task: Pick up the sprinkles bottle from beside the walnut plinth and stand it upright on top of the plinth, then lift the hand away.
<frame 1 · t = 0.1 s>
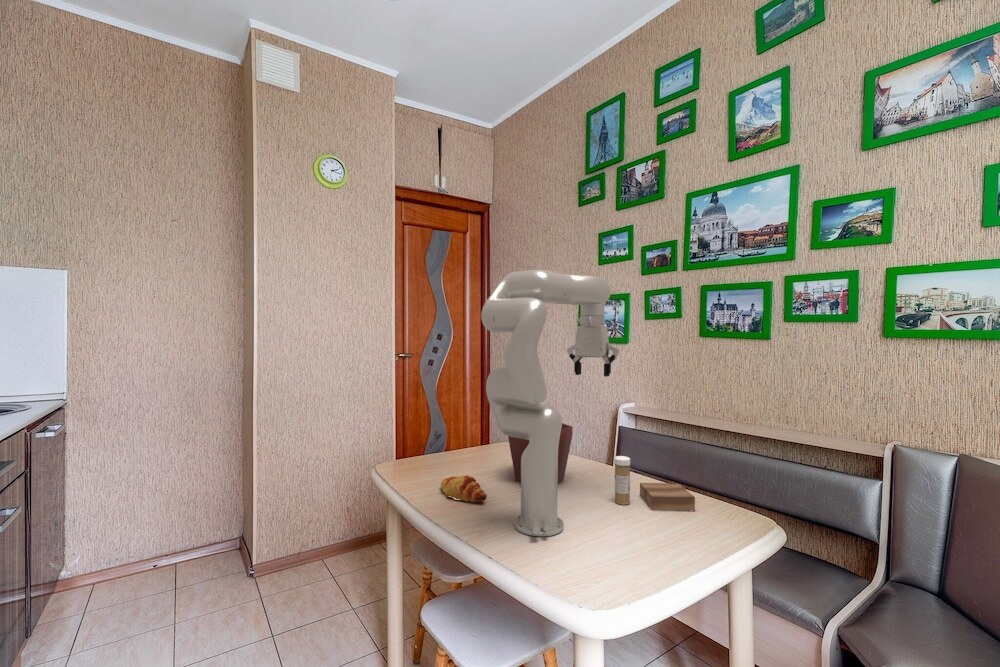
hand: (592, 375, 142), 37 cm above the table, tool pointing down, fingers open, 9 cm apart
croissant: (463, 496, 138), on the table
walnut plinth: (666, 503, 132), on the table
sprinkles bottle: (622, 503, 133), on the table
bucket: (540, 480, 154), on the table
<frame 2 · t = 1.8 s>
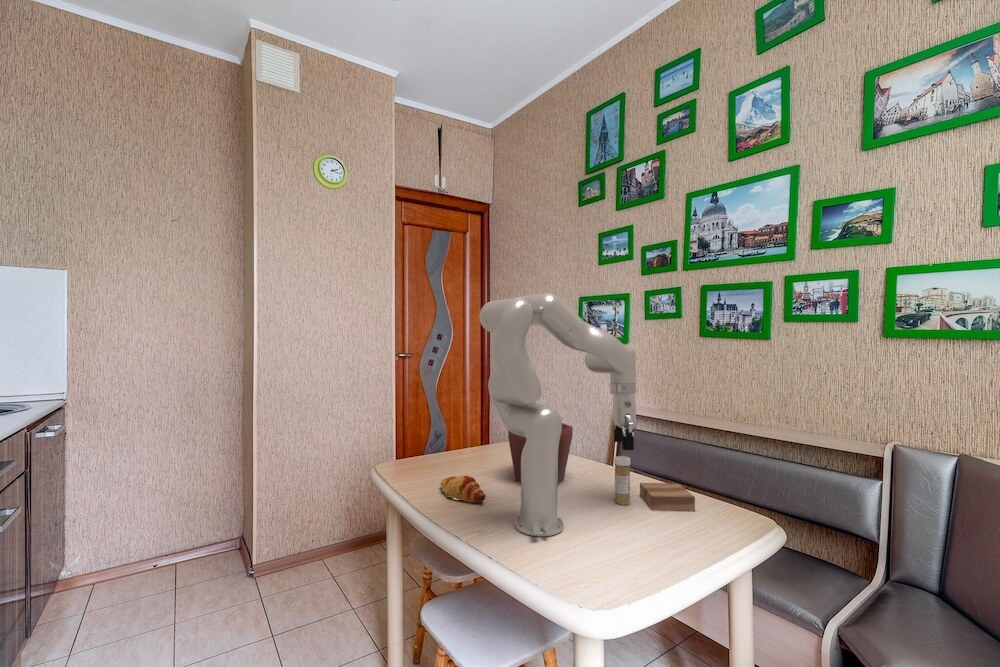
hand: (623, 445, 133), 17 cm above the table, tool pointing down, fingers open, 9 cm apart
nothing on the table moved.
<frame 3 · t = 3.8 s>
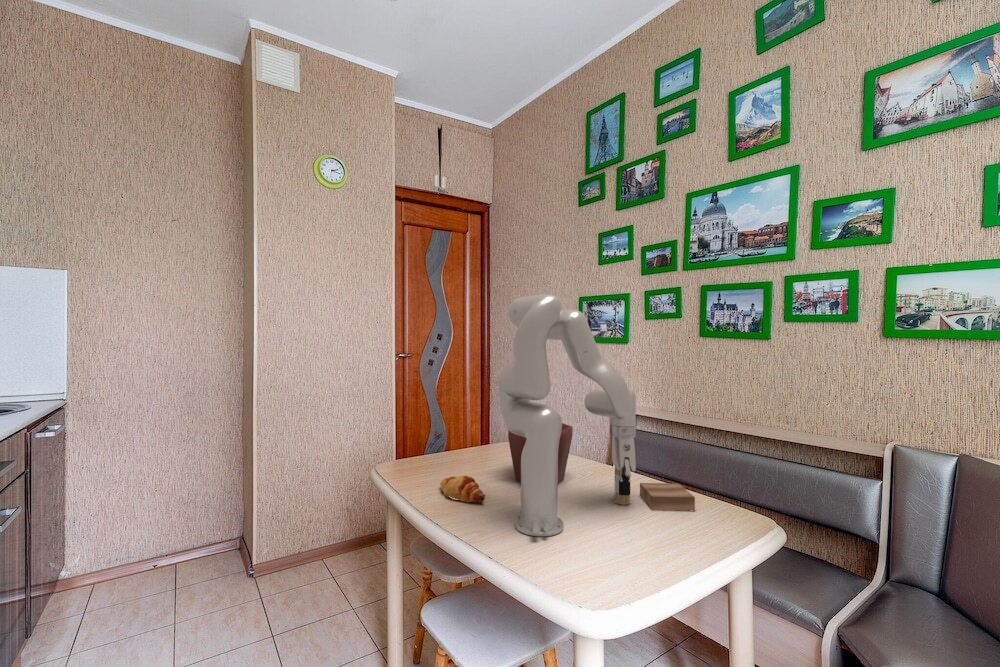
hand: (622, 491, 133), 3 cm above the table, tool pointing down, fingers closed on sprinkles bottle, 4 cm apart
sprinkles bottle: (622, 503, 133), on the table, touching gripper
everything else where it was.
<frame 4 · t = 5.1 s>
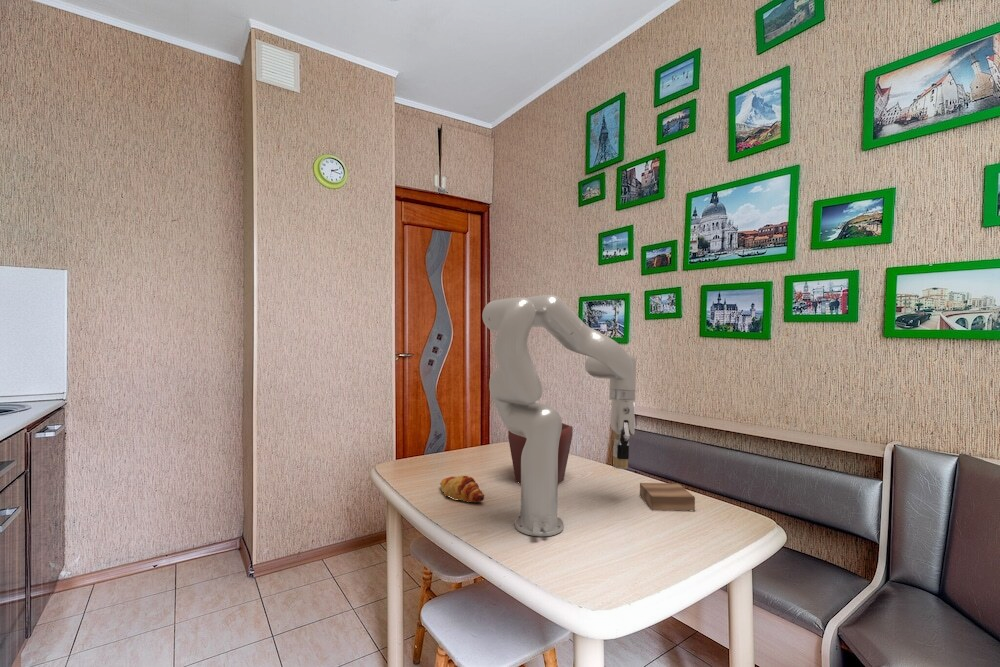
hand: (620, 456, 132), 14 cm above the table, tool pointing down, fingers closed on sprinkles bottle, 4 cm apart
sprinkles bottle: (620, 468, 132), point 10 cm above the table, touching gripper
everything else where it was.
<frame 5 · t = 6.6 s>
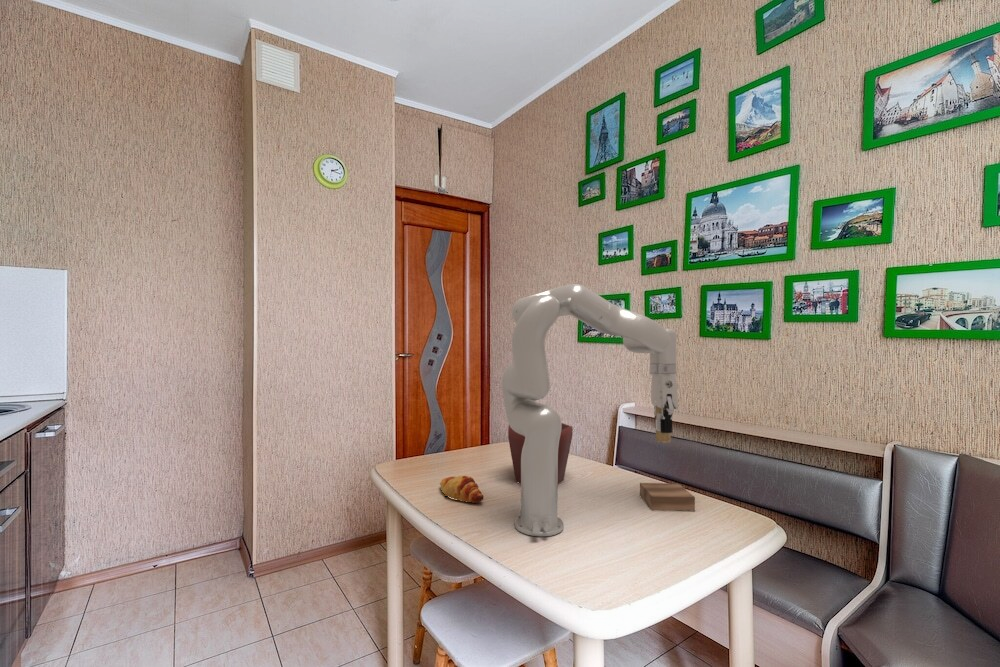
hand: (663, 430, 133), 22 cm above the table, tool pointing down, fingers closed on sprinkles bottle, 4 cm apart
sprinkles bottle: (663, 442, 133), point 18 cm above the table, touching gripper
everything else where it was.
when the fingers open (9 cm above the table, at t = 9.8 s): sprinkles bottle drops 1 cm, resting on walnut plinth.
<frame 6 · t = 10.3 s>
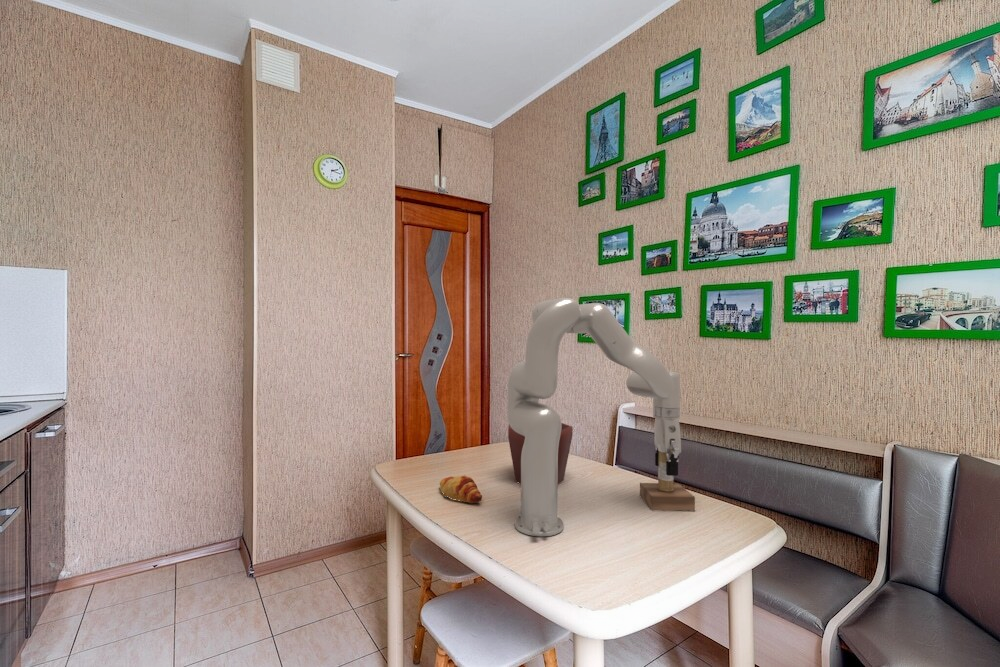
hand: (666, 470, 132), 10 cm above the table, tool pointing down, fingers open, 9 cm apart
sprinkles bottle: (665, 490, 132), point 4 cm above the table, touching walnut plinth
everything else where it was.
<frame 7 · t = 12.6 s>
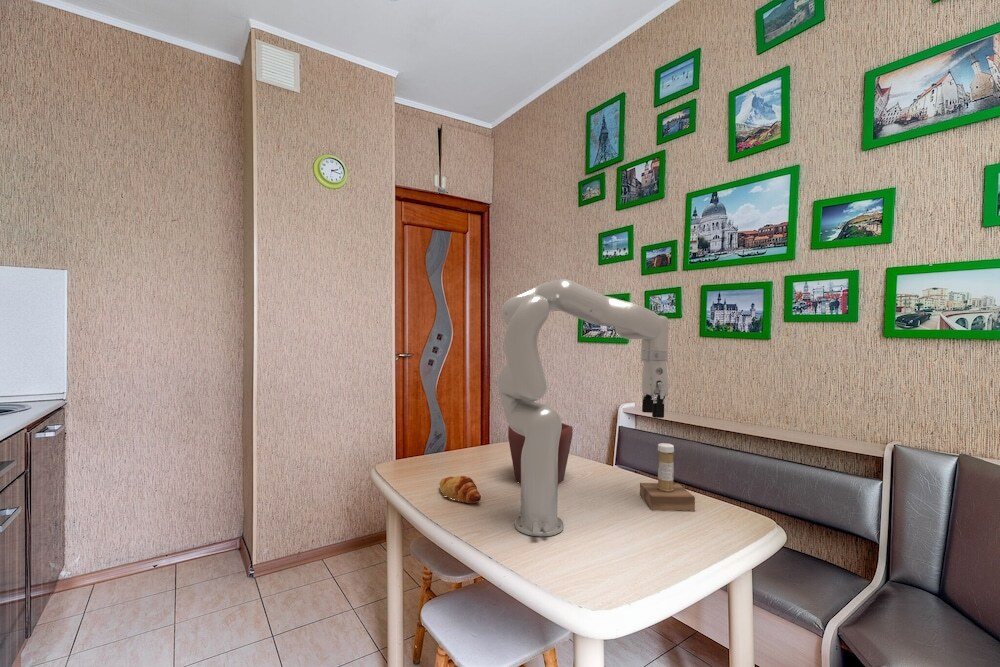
hand: (652, 414, 132), 26 cm above the table, tool pointing down, fingers open, 9 cm apart
nothing on the table moved.
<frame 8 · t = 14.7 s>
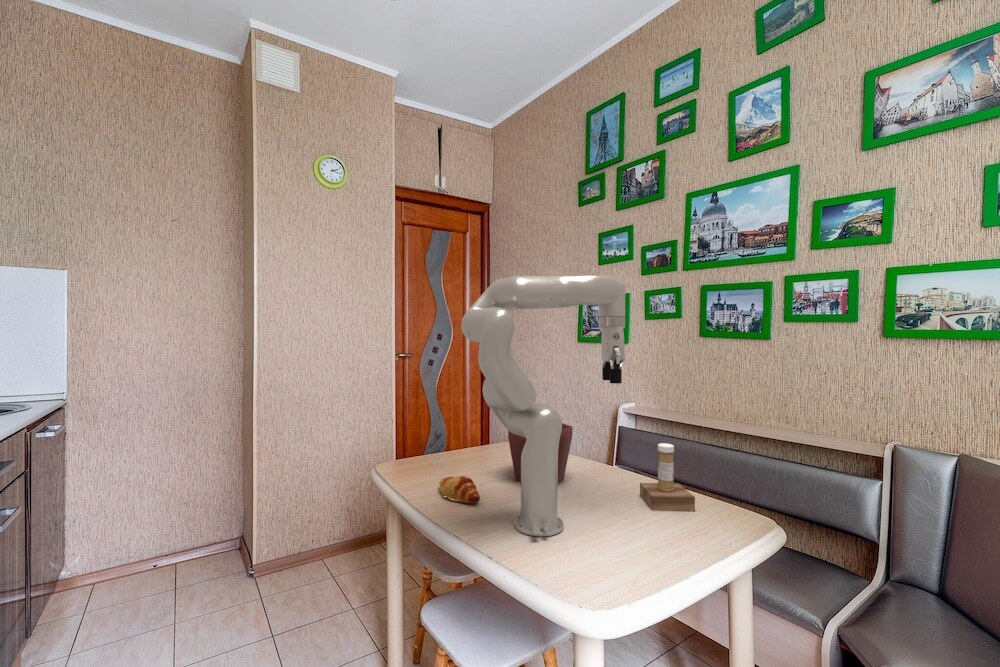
hand: (611, 381, 130), 36 cm above the table, tool pointing down, fingers open, 9 cm apart
at the end: sprinkles bottle inside the target area on the walnut plinth (0.2 cm from its centre), point 3.8 cm above the walnut plinth's base; sprinkles bottle tilted 0°; the gripper is holding nothing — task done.
